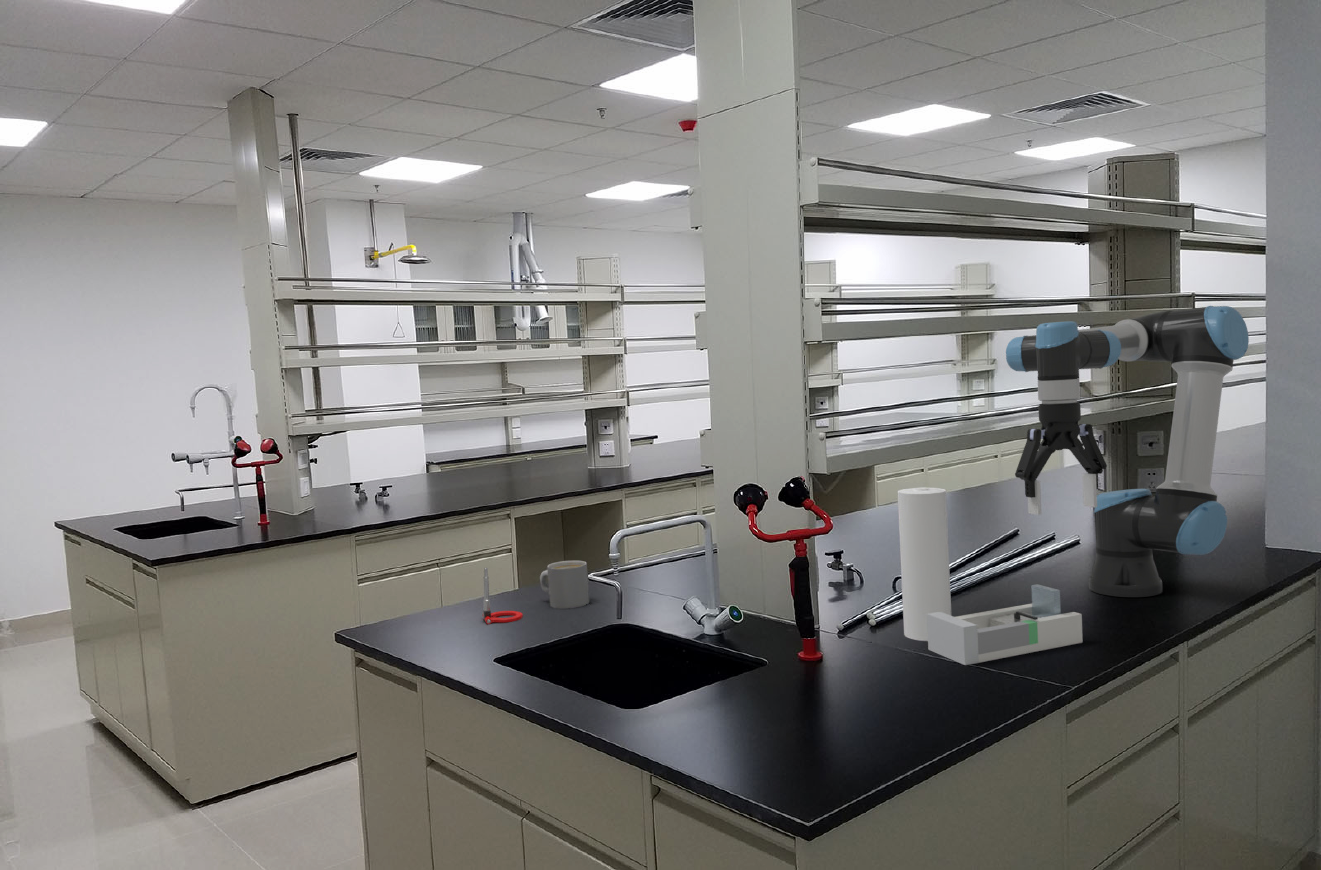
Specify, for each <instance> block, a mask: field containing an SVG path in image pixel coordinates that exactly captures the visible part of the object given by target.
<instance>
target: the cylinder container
mask: <svg viewBox="0 0 1321 870" xmlns="http://www.w3.org/2000/svg"><path fill="white" fill-rule="evenodd" d="M947 503H948V502H947V490H946V489H945V488H939V487H924V486H923V487H912V488H904V489H902V488H901V489H898V490H897V509H898V510H897V511H898V527H899V530H898V531H899V532H898V534H899V550H900V551H899V552H900V571H901V574H900V575H901V590H902V591H901V592H902V593H901V596H902V616H903V636H904V637H905V638H908V639H911V640H915V641H921V642H928V629H927V614H930V613H936V612H942V613H945V614H948V615H950V616H952V603H951V600H952V598H951V597H952V596H951V578H950V577H951V576H950V575H951V573H950V552H949V531H948V510H947V509H948V507H947V506H948V505H947Z"/></svg>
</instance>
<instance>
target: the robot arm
mask: <svg viewBox="0 0 1321 870" xmlns="http://www.w3.org/2000/svg"><path fill="white" fill-rule="evenodd" d="M1035 330H1036V332H1035V334H1036V335H1035V334H1034V335H1022V336H1018V337H1014V338H1012V339H1011V340H1010V341H1009V342H1008V343H1007V345H1006V349H1005V356H1006V357H1005V359H1006V363H1007V365H1008V367H1009V368H1010V369H1012V370H1013V371H1015V372H1025V373H1028V372H1037V400H1038V401H1040V402H1041V403H1039V405H1038V407H1037V410H1038V421H1039V422H1040V424H1041V428H1028V429H1027V432H1026V434H1027V435H1026V437H1027V438H1026V442H1025V445H1024V448H1023V450H1022V453H1021V456H1020V459H1019V461H1018V465H1017V468H1016V470H1015V473H1014V476H1015V477H1016V478H1019V479H1020V480H1023V481H1024V495H1025V497H1026V498H1027V512H1028V514H1032V515H1035V516H1040V515H1042V494H1041V493H1042V492H1041V481H1040V480H1037V478H1038V477H1039V476H1040V474H1041V472H1042V471H1043V469H1044V468H1045V465H1046V464H1047V462H1049V461H1048V460H1049V459H1050V457H1051V456H1052V454H1054V453H1055V452H1056V451H1062V450H1069V452H1071V454H1072V455H1073V456H1074V458H1075V459H1076V460H1077V461H1078V463H1079V464H1080V465H1081V467H1082V468H1083V469H1084V471H1085V472H1083V473H1082V498H1083V506H1084V507H1089V508H1090V507H1091V508H1094V510H1093V514H1094V529H1095V533H1094V534H1095V559H1094V563H1093V565H1092V571H1091V574H1090V575H1089V578H1088V590H1089V591H1092V592H1094V593H1096V594H1100V595H1105V596H1110V597H1117V598H1119V597H1120V598H1144V597H1145V598H1146V597H1152V596H1153V597H1154V596H1157V595H1160V594H1162V593H1163V581H1162V578H1161V577H1160V576H1159V572H1158V570H1157V569H1158V568H1157V566H1156V562H1155V560H1154V556H1153V550H1155V551H1156V550H1157V551H1164V552H1169V553H1179V554H1182V555H1197V556H1205V555H1207V554H1210V553H1212V552H1213V551H1214V550H1215V549H1216V548H1217V547H1219V545H1220V544H1221V543H1222V541H1223V539H1224V537H1225V535H1226V530H1227V528H1228V527H1227V526H1228V516H1227V514H1226V513H1227V511H1226V509H1225V507H1224V505H1222V504H1221V502H1220V503H1219V502H1218V501H1217V500H1218V493H1216V491H1215V490H1214V489H1213V488H1212V486H1211V484H1212V483H1211V481H1212V475H1213V467H1214V466H1213V465H1214V456H1215V450H1216V449H1215V448H1216V440H1217V433H1218V424H1219V418H1220V417H1219V415H1220V408H1221V398H1222V392H1223V391H1222V390H1223V382H1224V377H1225V376H1227V375H1228V374H1229V373H1231V372H1232V371H1233V367H1234V361H1237V360H1239V359H1241V358H1243V357H1244V356H1245V354H1246V352H1247V351H1248V348H1249V341H1250V339H1249V337H1250V336H1249V331H1248V326H1247V324H1246V321H1245V320H1244V317H1243V316H1242V314H1241V313H1240V312H1239V311H1238V310H1237V309H1235V308H1234V307H1231V306H1228V305H1219V306H1218V305H1217V306H1213V305H1208V306H1203V307H1202V306H1201V307H1193V308H1183V309H1174V310H1163V311H1158V312H1154V313H1153V312H1152V313H1149V314H1146V315H1142V316H1138V317H1133V318H1128V319H1123V320H1119V321H1118V322H1116V323H1115V324H1114V325H1109V326H1101V327H1092V328H1091V327H1090V328H1085V329H1078V323H1077V322H1076V321H1072V320H1071V321H1067V320H1066V321H1055V322H1045V323H1044V322H1043V323H1040V324H1038V325H1037V327H1036V329H1035ZM1118 360H1119V361H1121V362H1137V361H1140V362H1141V361H1142V362H1145V361H1146V362H1157V363H1160V362H1162V363H1168V362H1169V363H1171V368H1172V369H1173V370H1174V371H1175V372H1176V373H1177V381H1176V389H1175V396H1174V397H1175V398H1174V406H1173V412H1172V413H1173V414H1172V423H1171V428H1170V429H1171V430H1170V437H1169V445H1168V446H1169V447H1168V454H1167V462H1166V471H1165V478H1164V481H1163V482H1162V483H1161V484H1159V485H1158V486H1157V487H1156V488H1155V496H1153V494H1152V492H1151V489H1150V488H1131V489H1123V490H1122V489H1121V490H1111V491H1106V492H1101V493H1099V494H1097V490H1098V489H1099V474H1103V472H1104V470H1106V469H1107V463H1106V461H1105V458H1104V456H1103V454H1102V451H1101V449H1100V446H1099V445H1098V442H1097V441H1096V438H1095V436H1094V430H1093V429H1094V428H1093V425H1092V424H1090V423H1079V422H1080V421H1081V419H1082V415H1081V414H1082V413H1081V411H1082V409H1081V403H1080V402H1079V401H1078V400H1080V399H1081V389H1080V388H1081V385H1080V370H1088V369H1089V370H1090V369H1091V370H1092V369H1100V370H1101V369H1103V368H1108V367H1111V366H1112V365H1114V364H1116V362H1117V361H1118Z"/></svg>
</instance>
